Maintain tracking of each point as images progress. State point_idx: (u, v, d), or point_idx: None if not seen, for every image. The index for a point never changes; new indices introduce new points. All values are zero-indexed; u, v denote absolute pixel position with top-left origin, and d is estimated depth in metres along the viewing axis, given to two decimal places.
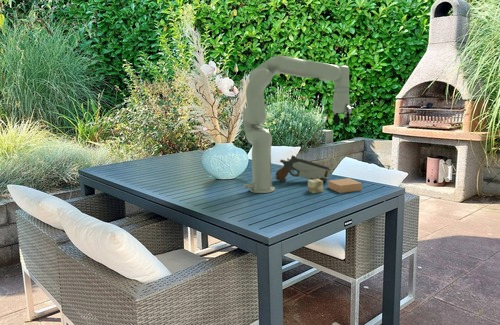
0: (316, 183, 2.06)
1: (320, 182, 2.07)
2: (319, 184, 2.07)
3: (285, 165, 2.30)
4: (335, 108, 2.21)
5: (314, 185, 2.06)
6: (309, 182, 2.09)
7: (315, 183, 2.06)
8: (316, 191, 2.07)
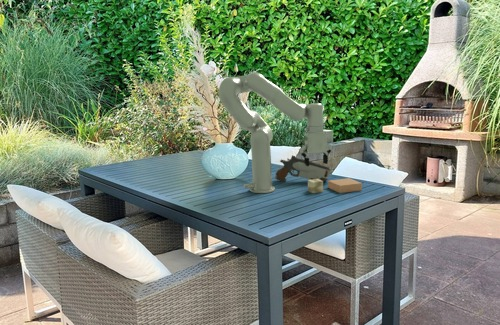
0: (316, 183, 2.06)
1: (320, 182, 2.07)
2: (319, 184, 2.07)
3: (285, 165, 2.30)
4: (316, 149, 2.03)
5: (314, 185, 2.06)
6: (309, 182, 2.09)
7: (315, 183, 2.06)
8: (316, 191, 2.07)
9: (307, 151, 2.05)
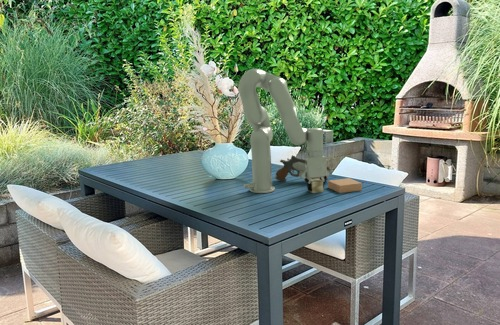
0: (316, 183, 2.06)
1: (320, 182, 2.07)
2: (319, 184, 2.06)
3: (285, 165, 2.30)
4: (315, 173, 2.05)
5: (314, 185, 2.06)
6: None
7: (315, 183, 2.06)
8: (316, 191, 2.07)
9: (308, 176, 2.07)
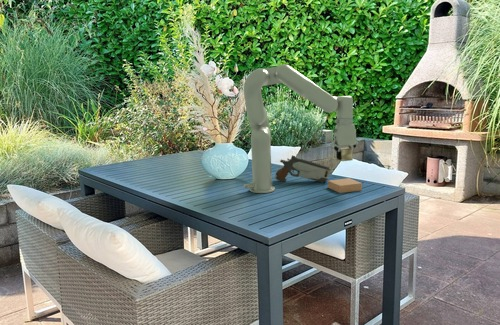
0: (346, 151, 2.06)
1: (350, 150, 2.06)
2: (348, 152, 2.06)
3: (285, 165, 2.30)
4: (345, 141, 2.05)
5: (344, 153, 2.06)
6: None
7: (345, 151, 2.06)
8: (346, 159, 2.06)
9: (338, 144, 2.07)
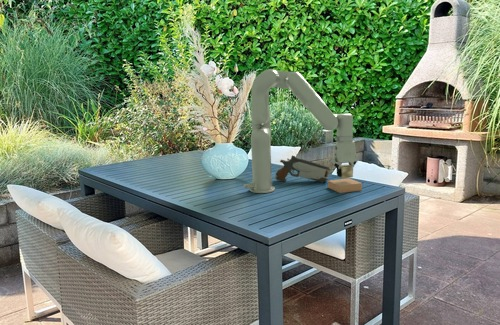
0: (346, 168, 2.07)
1: (350, 167, 2.08)
2: (349, 169, 2.08)
3: (285, 165, 2.30)
4: (345, 158, 2.06)
5: (344, 170, 2.07)
6: None
7: (345, 168, 2.07)
8: (346, 176, 2.08)
9: (338, 161, 2.09)
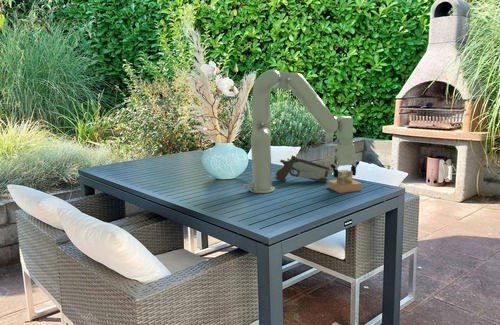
0: (346, 173, 2.08)
1: (350, 172, 2.09)
2: (348, 174, 2.08)
3: (285, 165, 2.30)
4: (345, 161, 2.06)
5: (344, 175, 2.08)
6: (338, 172, 2.11)
7: (345, 173, 2.08)
8: (346, 181, 2.09)
9: (336, 163, 2.09)
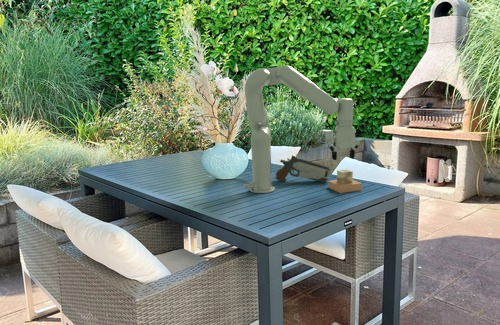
0: (346, 173, 2.08)
1: (350, 172, 2.09)
2: (348, 174, 2.09)
3: (285, 165, 2.30)
4: (344, 143, 2.05)
5: (344, 175, 2.08)
6: (338, 172, 2.11)
7: (345, 173, 2.08)
8: (346, 181, 2.09)
9: (335, 145, 2.07)
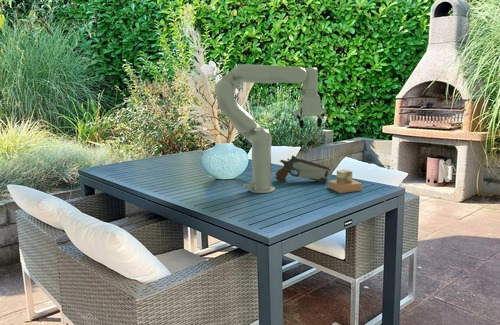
0: (346, 173, 2.08)
1: (349, 172, 2.09)
2: (348, 174, 2.09)
3: (285, 165, 2.30)
4: (310, 111, 2.11)
5: (344, 175, 2.08)
6: (338, 172, 2.11)
7: (345, 173, 2.08)
8: (345, 181, 2.09)
9: (302, 114, 2.13)
